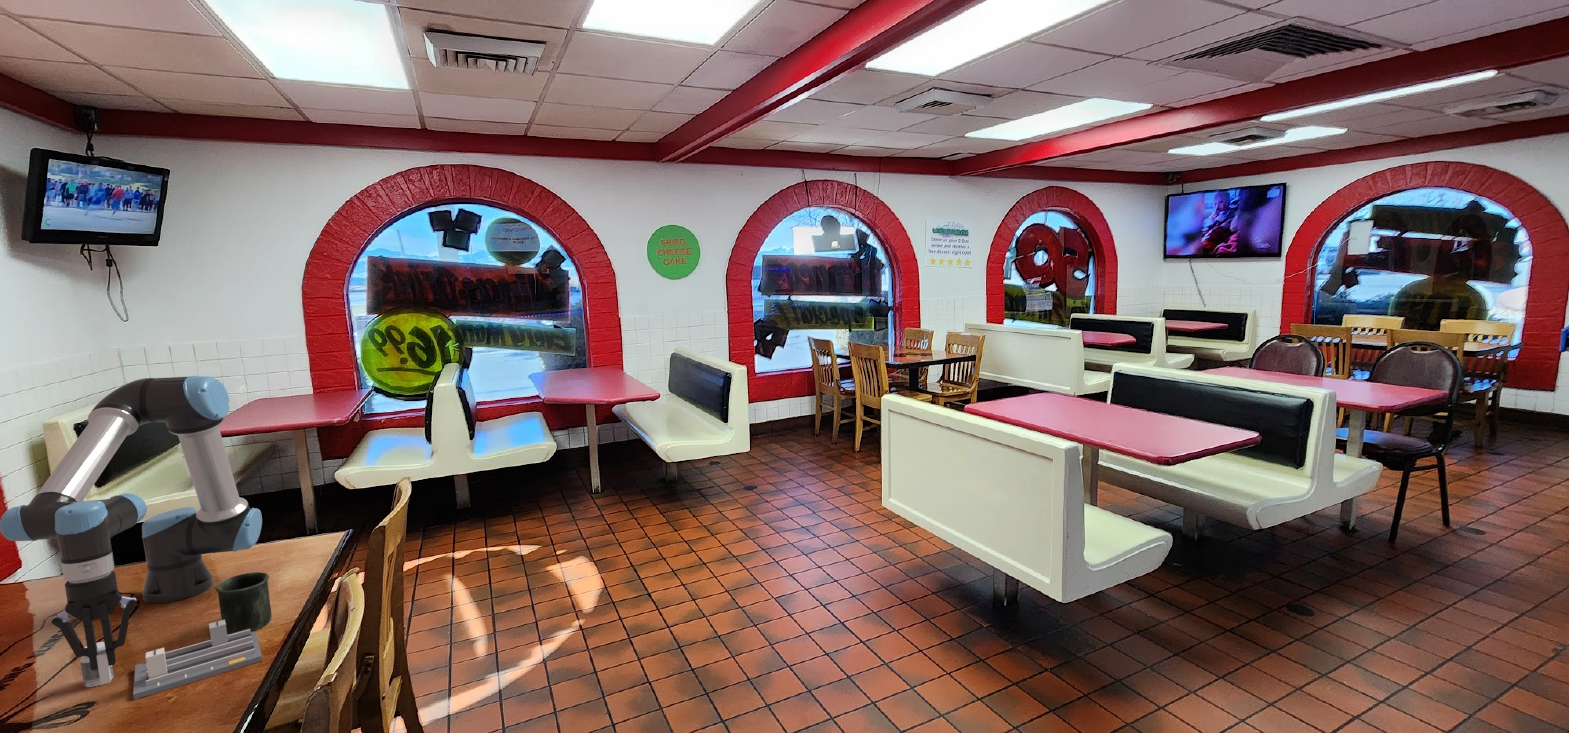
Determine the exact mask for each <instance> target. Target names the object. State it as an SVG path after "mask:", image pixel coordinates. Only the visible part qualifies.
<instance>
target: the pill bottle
mask: <svg viewBox="0 0 1569 733" xmlns="http://www.w3.org/2000/svg"><path fill="white" fill-rule="evenodd" d="M96 644H97V651H100V650H104V649H105V644H104V641H98V642H96ZM84 648H87V645H85V646H84ZM79 662H80V667H81V674H82V680H83V685H84V687H86V688H94V686H95V687H98V685H99V686H102V685H101V683H100V676H99V670H98V669H97V670H93V671H92V670H91V667H90V661H89V657H87V656H81V657H80V661H79ZM110 671H111V680H112V679H113V678H114V669H113V665H111V666H110Z"/></svg>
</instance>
